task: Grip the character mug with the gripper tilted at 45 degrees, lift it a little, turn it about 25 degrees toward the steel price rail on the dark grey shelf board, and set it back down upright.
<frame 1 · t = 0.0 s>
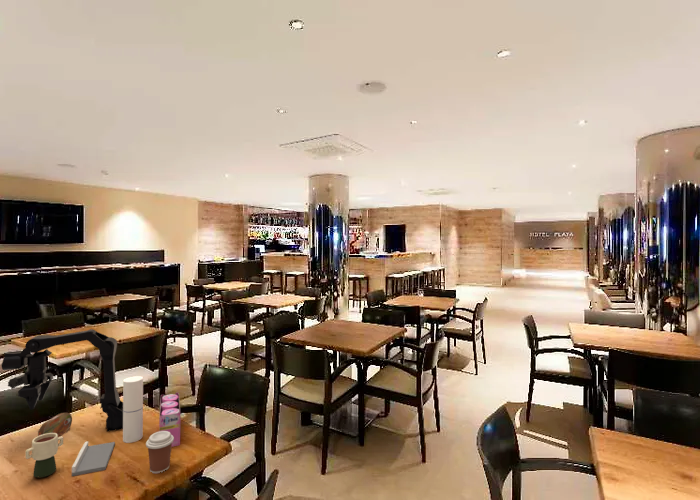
hand: (36, 404, 152), 15 cm above the table, tool pointing down, fingers open, 9 cm apart
cylindrical container: (132, 438, 155), on the table
tin: (55, 437, 155), on the table
character mug: (44, 474, 130), on the table
shelf board: (94, 459, 139), on the table
gum box: (169, 434, 159), on the table
coffee cup: (159, 468, 135), on the table
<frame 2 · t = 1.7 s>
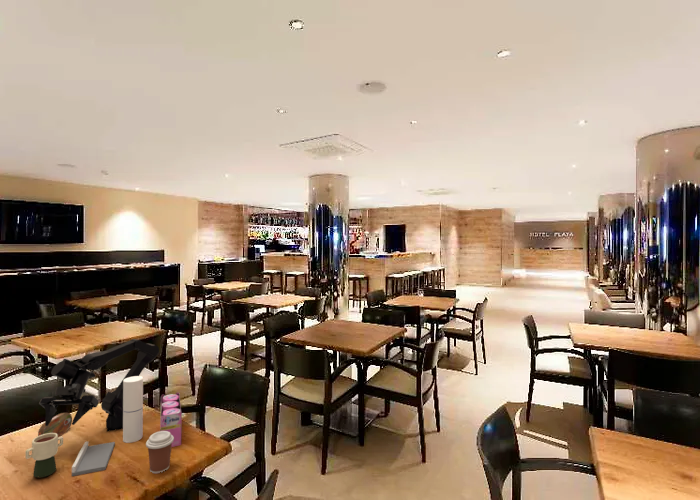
hand: (59, 425, 138), 13 cm above the table, tool tilted 45°, fingers open, 9 cm apart
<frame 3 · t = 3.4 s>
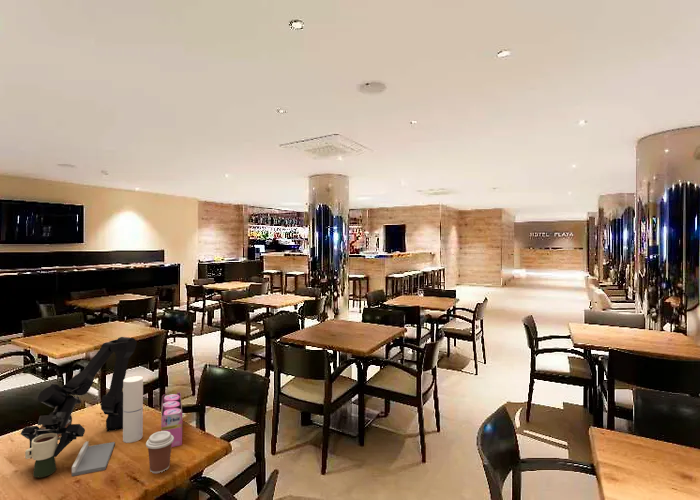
hand: (42, 457, 129), 7 cm above the table, tool tilted 45°, fingers closed on character mug, 7 cm apart
character mug: (44, 474, 130), on the table, touching gripper
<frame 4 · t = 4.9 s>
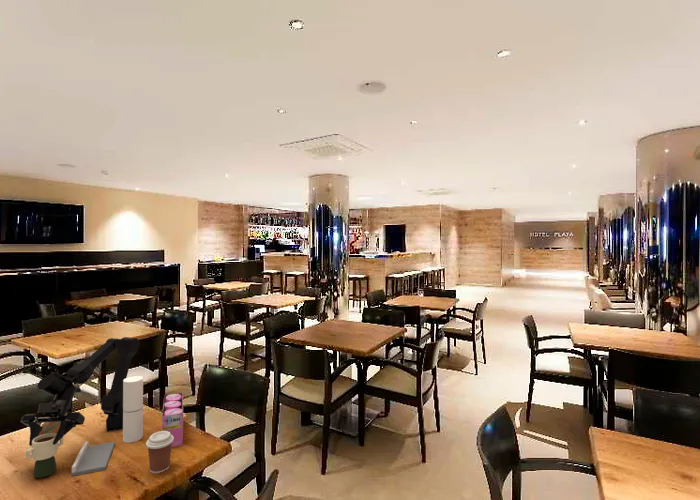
hand: (42, 444, 129), 11 cm above the table, tool tilted 45°, fingers closed on character mug, 7 cm apart
character mug: (45, 474, 130), on the table, touching gripper
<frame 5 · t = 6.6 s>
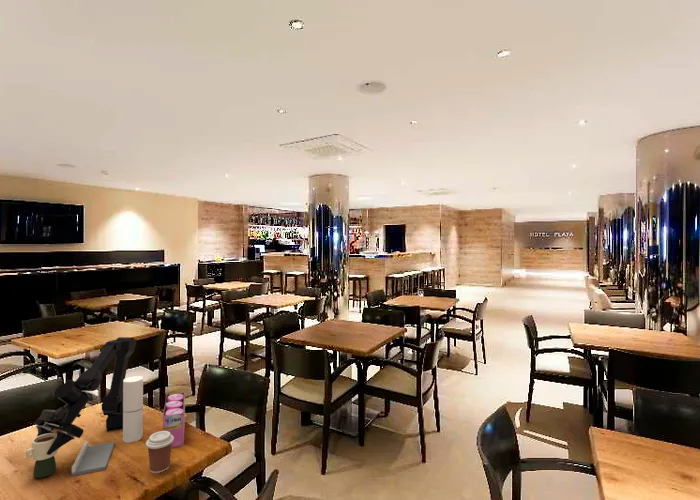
hand: (40, 452, 129), 8 cm above the table, tool tilted 45°, fingers closed on character mug, 7 cm apart
character mug: (45, 474, 130), on the table, touching gripper
when the fingers open (8 cm above the table, at t = 7.3 s): character mug stays where it is, on the table.
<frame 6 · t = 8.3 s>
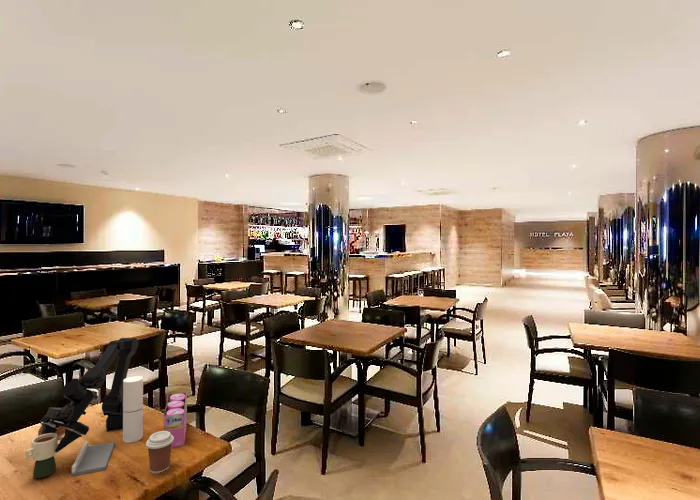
hand: (47, 449, 131), 8 cm above the table, tool tilted 45°, fingers open, 9 cm apart
character mug: (44, 474, 130), on the table
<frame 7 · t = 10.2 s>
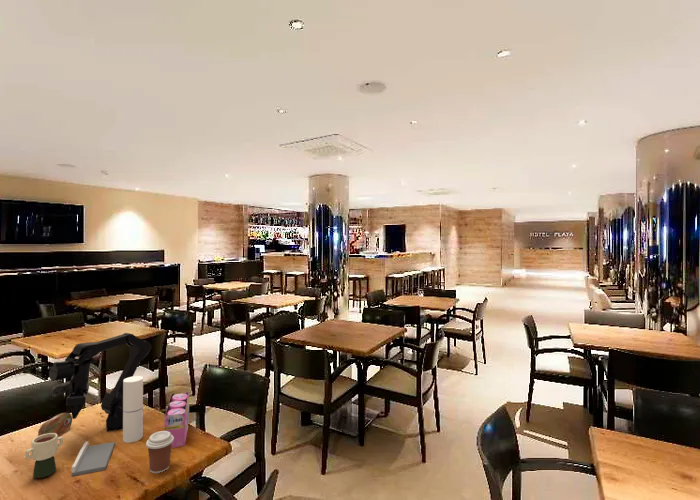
hand: (75, 414, 149), 12 cm above the table, tool pointing down, fingers open, 9 cm apart
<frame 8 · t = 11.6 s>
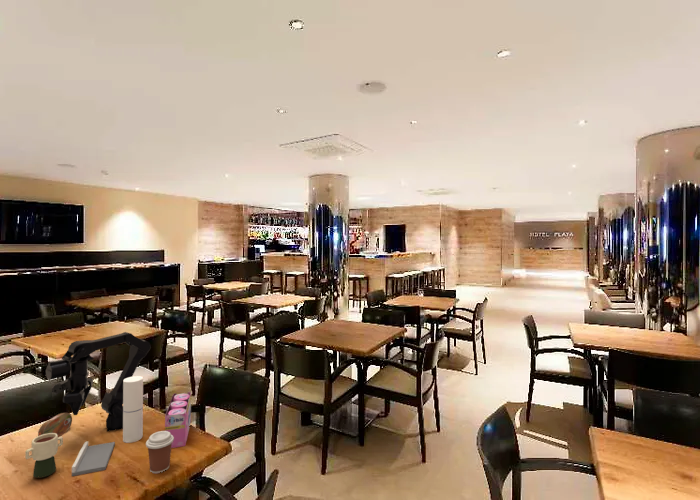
hand: (78, 410, 151), 13 cm above the table, tool pointing down, fingers open, 9 cm apart
at the end: character mug tilted 0°; character mug inside the target area (0.1 cm from its centre), on the table; the gripper is holding nothing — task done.
